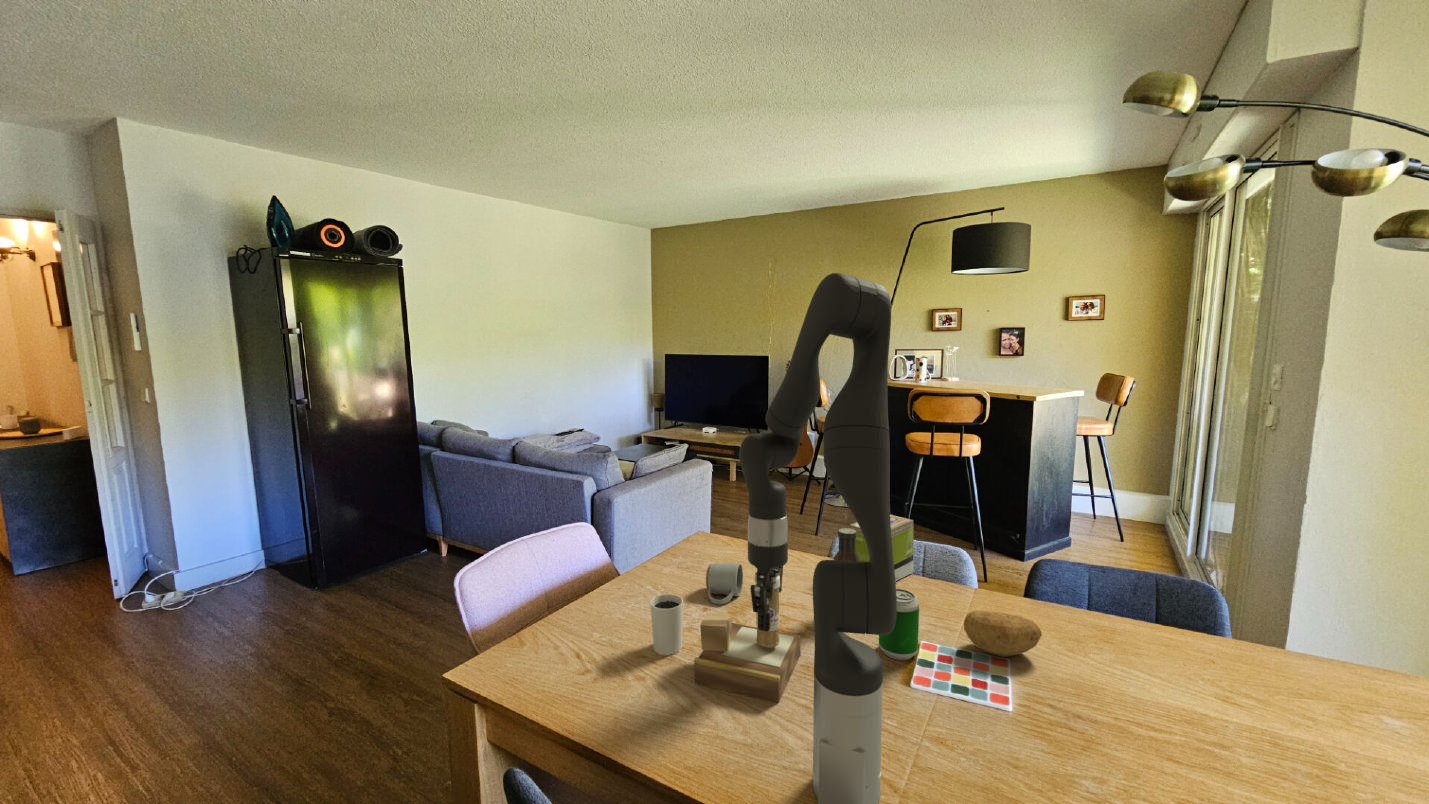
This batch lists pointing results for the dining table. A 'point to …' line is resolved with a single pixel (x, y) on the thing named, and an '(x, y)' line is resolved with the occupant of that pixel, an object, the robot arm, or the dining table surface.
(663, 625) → the white cup
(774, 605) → the sprinkles bottle
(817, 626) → the robot arm
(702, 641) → the wooden cube
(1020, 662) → the dining table surface
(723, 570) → the ceramic mug
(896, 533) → the tea box
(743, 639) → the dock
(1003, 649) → the potato
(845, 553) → the sauce bottle
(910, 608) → the soda can
